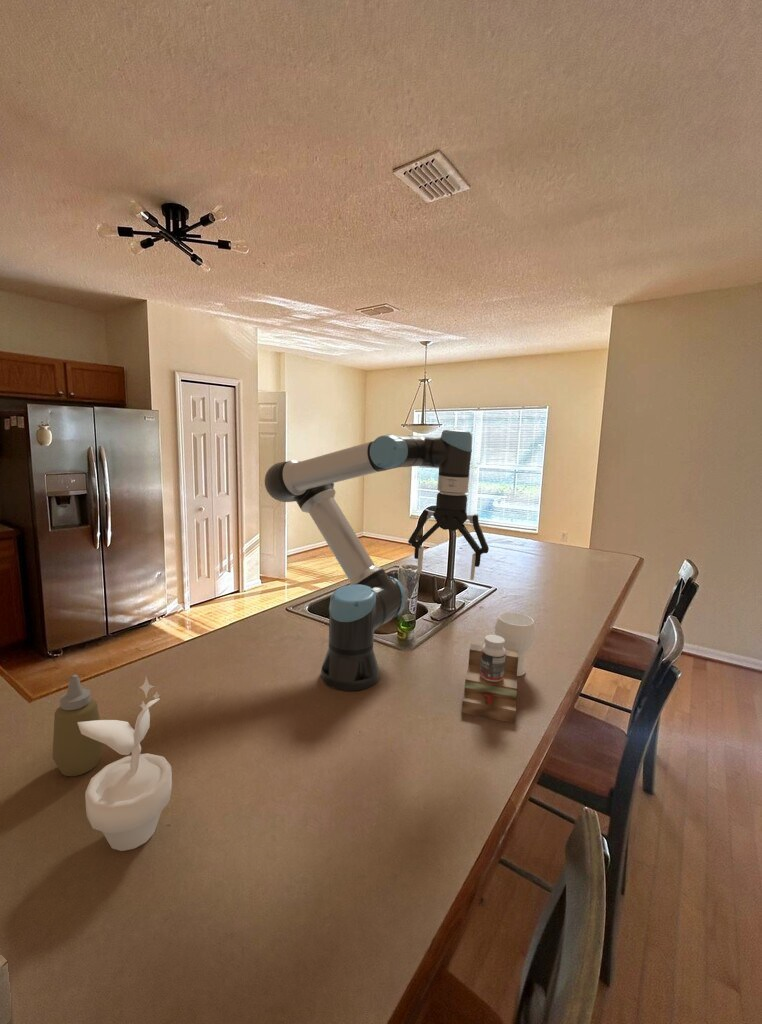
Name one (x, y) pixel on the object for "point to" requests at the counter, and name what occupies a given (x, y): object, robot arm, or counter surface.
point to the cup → (516, 635)
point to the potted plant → (127, 782)
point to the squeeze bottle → (75, 731)
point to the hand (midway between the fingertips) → (445, 574)
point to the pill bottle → (493, 658)
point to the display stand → (491, 688)
